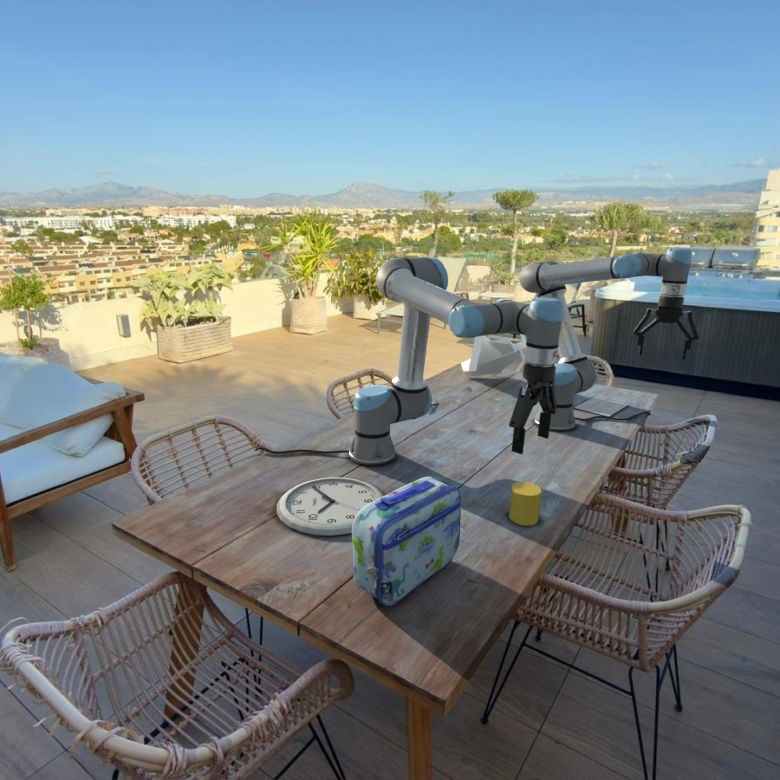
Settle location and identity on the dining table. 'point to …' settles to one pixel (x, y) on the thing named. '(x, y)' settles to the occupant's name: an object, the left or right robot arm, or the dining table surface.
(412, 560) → the lunch box
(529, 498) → the canister
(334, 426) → the dining table surface
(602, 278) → the right robot arm
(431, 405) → the fork
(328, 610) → the dining table surface
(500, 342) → the white plastic object
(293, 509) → the wall clock
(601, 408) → the grey flat slab
